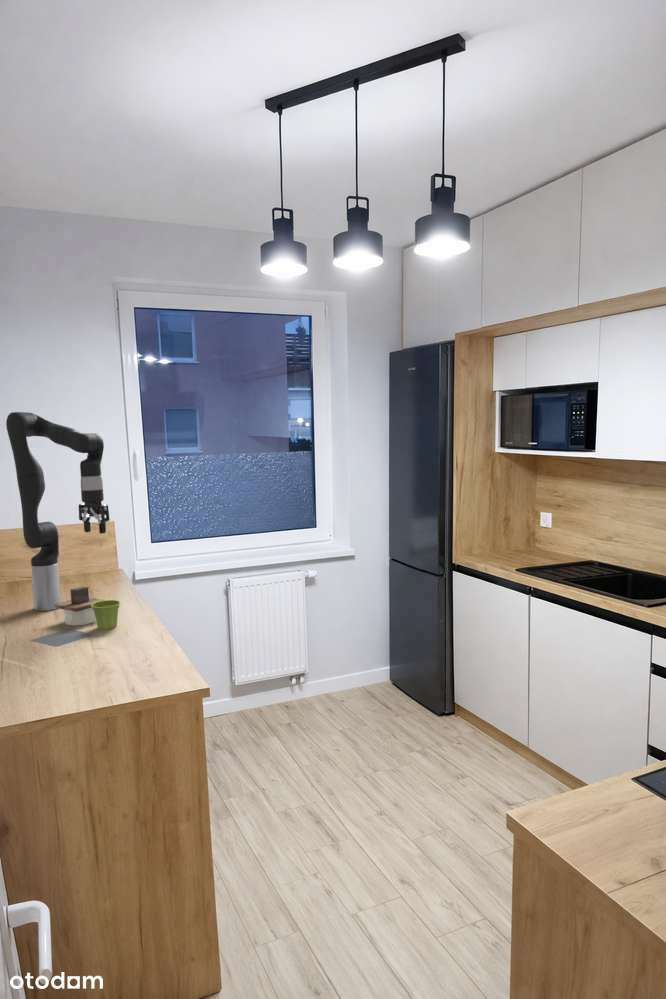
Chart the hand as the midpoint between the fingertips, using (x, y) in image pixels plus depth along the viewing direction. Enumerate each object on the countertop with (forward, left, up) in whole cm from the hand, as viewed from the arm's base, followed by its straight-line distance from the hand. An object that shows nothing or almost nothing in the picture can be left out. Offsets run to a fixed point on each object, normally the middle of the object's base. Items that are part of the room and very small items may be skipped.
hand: (95, 532), depth 238 cm
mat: (+15, -26, -30) cm, 43 cm away
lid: (+4, -11, -24) cm, 27 cm away
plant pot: (+19, -12, -30) cm, 37 cm away
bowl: (+4, -11, -30) cm, 32 cm away
